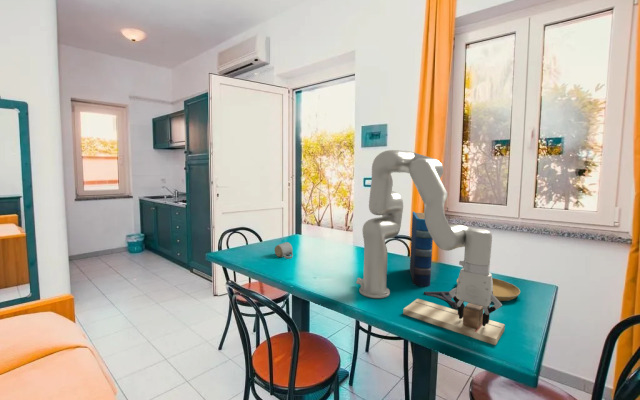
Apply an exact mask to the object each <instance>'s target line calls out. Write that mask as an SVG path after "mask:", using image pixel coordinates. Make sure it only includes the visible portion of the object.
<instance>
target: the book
mask: <svg viewBox="0 0 640 400" xmlns="http://www.w3.org/2000/svg"><path fill="white" fill-rule="evenodd" d="M410 237H411V238H410V239H411V241H410V262H409V272H410V275H411V279H412V284H413V285H414V286H417V287H430V286H431V280H432V279H431V277H432V261H433V260H432V258H433V242H434V241H433V239H432V237H431V235H430V233H429V231H428V229H427V226H426V223H425V215H424V212H415V211H412V217H411V235H410Z"/></svg>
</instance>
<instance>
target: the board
mask: <svg viewBox="0 0 640 400" xmlns="http://www.w3.org/2000/svg"><path fill="white" fill-rule="evenodd" d="M402 309H403V311H402V312H403V313H402V314H403V315H404V316H406V317H407V316H408V317H411V318H414V319H415V320H416V319H417V320H420V321H422V322H425V323H428V324H430V325H431V324H432V325H434V326H436V327H440V328H443V329H445V330H448V331H452V332H455V333H458V334H461V335H464V336H467V337H471V338H472V339H475V340H479V341H482V342H485V343H487V344H491V345H493V346H496V345H497V344H498V342H499V340H500V339H501V337H502V335H503V334H504V333H505V328H506V325H505V324H504V323H501V322H498V321H494V320H491V319H489V323H487V324H486V325H485V326H483V325H482V323H481V325H480V326H479V327H478V329H476V328H473V327H470V326H467V325H463V318H462V319H459V315H458V309H455V308H451V307H447V306H445V305H441V304H437V303H434V302H430V301H427V300H424V299H420V298H416V299H415V300H413V301H412V302H411V303H409V304H408V305H406V306H405V307H404V308H402Z"/></svg>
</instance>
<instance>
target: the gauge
mask: <svg viewBox="0 0 640 400" xmlns="http://www.w3.org/2000/svg"><path fill="white" fill-rule="evenodd" d="M483 313H484V309H483V307H482V306H479V305H475V304H472V303H468V302H467V304H466V305H465V307H464V311H463V325H467V326H470V327H473V328H476V329H478V327H479V326H480V325H481V323H482V320H483Z"/></svg>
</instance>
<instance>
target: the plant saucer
mask: <svg viewBox="0 0 640 400" xmlns="http://www.w3.org/2000/svg"><path fill="white" fill-rule="evenodd" d="M492 281H493V295H494V296H495V297H496V298H497V299H498V300H499V301H500V302H508V301H511V300H513V299H516V298H517V297H518V296H519V295H520V293H521V290H520V288H519V287H517V286H516V285H515V284H513V283H510V282H508V281H505V280H502V279H498V278H494V277H492ZM456 284H458V278H457V279H456Z"/></svg>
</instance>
